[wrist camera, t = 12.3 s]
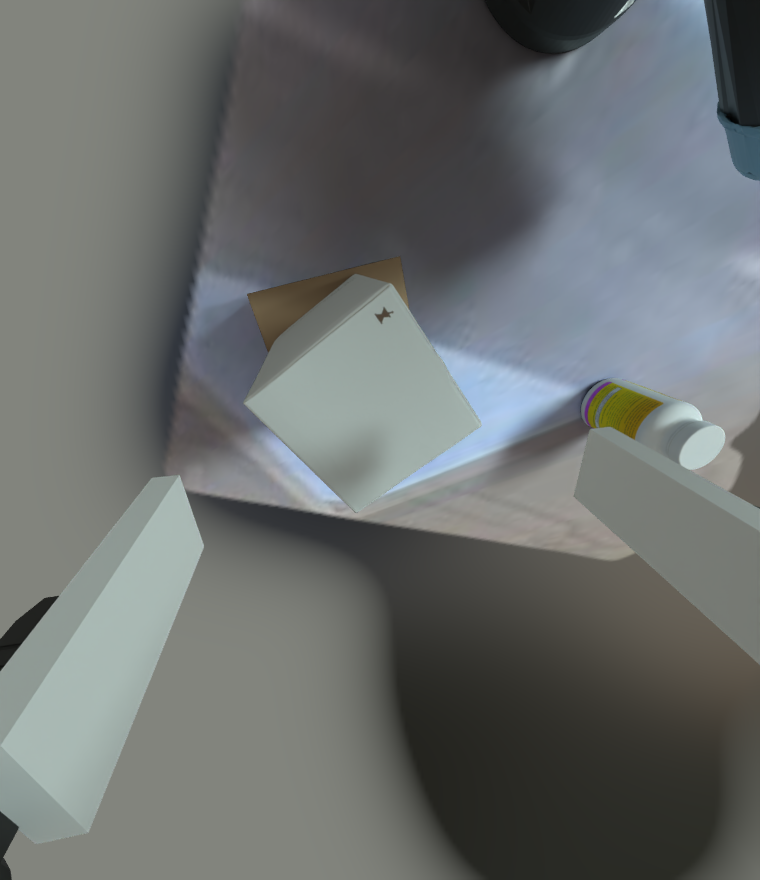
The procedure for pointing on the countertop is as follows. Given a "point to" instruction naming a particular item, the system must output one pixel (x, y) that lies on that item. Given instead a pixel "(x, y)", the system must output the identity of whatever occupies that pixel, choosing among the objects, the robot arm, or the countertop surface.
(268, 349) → the walnut box
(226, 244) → the countertop surface
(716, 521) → the robot arm
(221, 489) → the countertop surface
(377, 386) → the supplement box
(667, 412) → the supplement bottle
